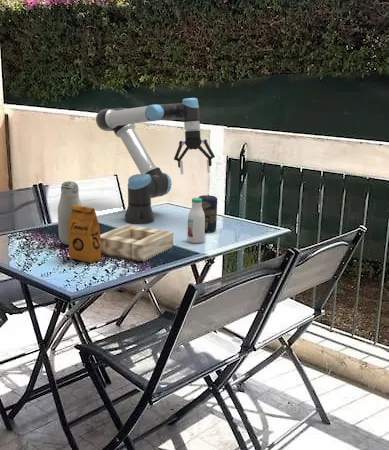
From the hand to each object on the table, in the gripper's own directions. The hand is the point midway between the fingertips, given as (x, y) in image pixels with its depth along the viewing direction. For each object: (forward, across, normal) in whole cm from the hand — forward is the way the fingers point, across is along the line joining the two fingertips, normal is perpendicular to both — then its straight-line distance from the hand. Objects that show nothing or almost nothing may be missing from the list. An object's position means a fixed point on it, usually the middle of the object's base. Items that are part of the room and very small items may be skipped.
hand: (195, 173), depth 282 cm
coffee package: (+26, -34, -67) cm, 79 cm away
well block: (+27, -18, -50) cm, 59 cm away
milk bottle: (+28, +4, -29) cm, 41 cm away
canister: (+27, +6, -10) cm, 30 cm away
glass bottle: (+24, -47, -50) cm, 73 cm away
